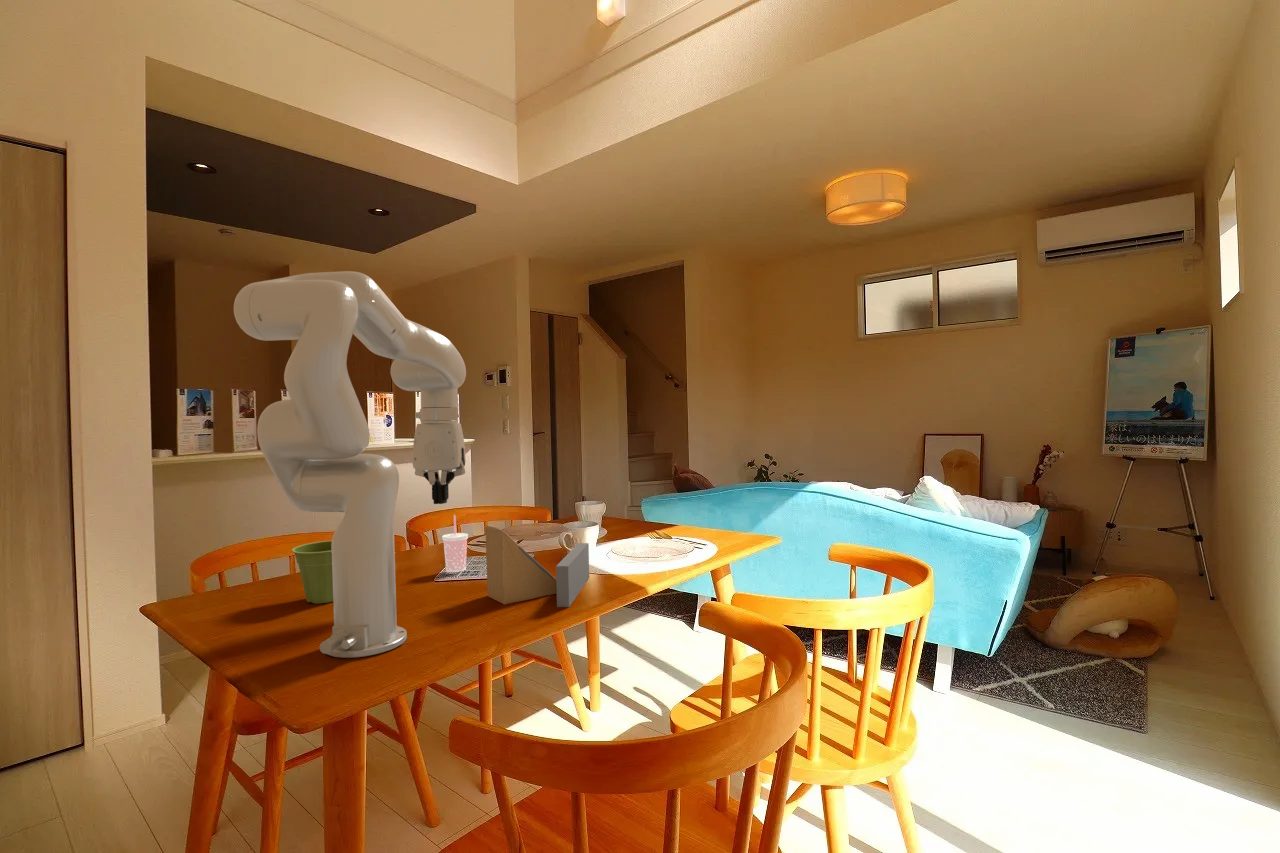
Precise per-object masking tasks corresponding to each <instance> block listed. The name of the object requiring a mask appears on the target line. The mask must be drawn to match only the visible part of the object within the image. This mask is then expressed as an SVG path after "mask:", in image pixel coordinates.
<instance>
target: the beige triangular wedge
mask: <svg viewBox="0 0 1280 853" xmlns="http://www.w3.org/2000/svg"><path fill="white" fill-rule="evenodd" d="M485 554H486V555H485V556H486V558H485V559H486V585H487V586H486V588H487V589H486V590H487V597H489V598H491V599H493V600H495V601H497V602H499V603H500V604H502V603H503V605H509V604H513V602H514V603H517V602H522V601H529V600H533V599H537V598H541V597H547V596H551V595H555V594H557V585H556V576H553V574H551V573H550V571H548V570H547V569H546V568H545V567H544V566H542V565H541V564H540V562H538V561H537V560H536V559H535V558H534V557H533V556H532V555H531V554H529V553H528V552H527V551H526V550H525V549H524V548H523V547H521V546H520V545H519V544H518V542H516V540H514V539H513V537H511V536H510V535H509V534H508V533H507V532H506V531H504V530H503V529H501V528H498V527H496V526H491V525H486V526H485ZM546 595H547V596H546Z"/></svg>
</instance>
